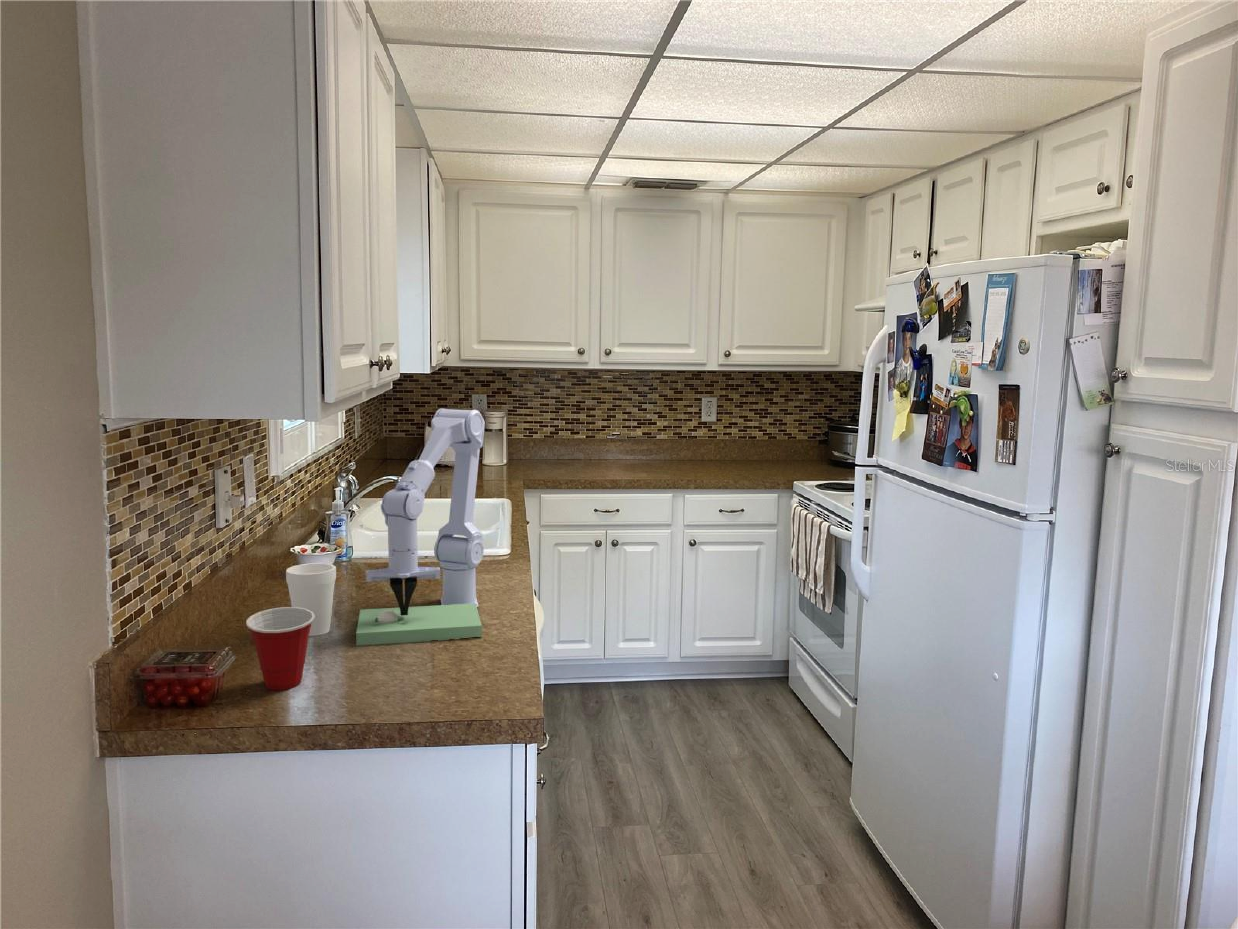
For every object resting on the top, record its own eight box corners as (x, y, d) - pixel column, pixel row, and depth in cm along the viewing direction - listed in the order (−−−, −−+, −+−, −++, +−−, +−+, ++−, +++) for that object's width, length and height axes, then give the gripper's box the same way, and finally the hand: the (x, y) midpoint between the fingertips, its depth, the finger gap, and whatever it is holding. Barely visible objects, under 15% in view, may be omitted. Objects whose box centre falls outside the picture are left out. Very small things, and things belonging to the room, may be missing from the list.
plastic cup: (244, 699, 141) (241, 628, 140) (253, 676, 152) (250, 609, 150) (314, 693, 144) (312, 623, 143) (318, 670, 154) (316, 605, 153)
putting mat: (360, 621, 183) (360, 609, 183) (475, 614, 189) (475, 603, 188) (356, 645, 168) (356, 633, 167) (481, 637, 173) (481, 625, 173)
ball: (391, 631, 179) (373, 625, 178) (398, 613, 180) (380, 607, 179) (395, 632, 175) (376, 626, 174) (402, 613, 177) (383, 607, 175)
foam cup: (321, 621, 183) (319, 560, 181) (346, 630, 177) (345, 568, 175) (279, 632, 175) (276, 569, 174) (304, 642, 170) (302, 577, 168)
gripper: (364, 554, 170) (366, 621, 172) (440, 551, 173) (441, 617, 175) (366, 546, 177) (367, 611, 178) (439, 544, 180) (439, 607, 182)
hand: (404, 614), depth 177 cm, fingers closed
